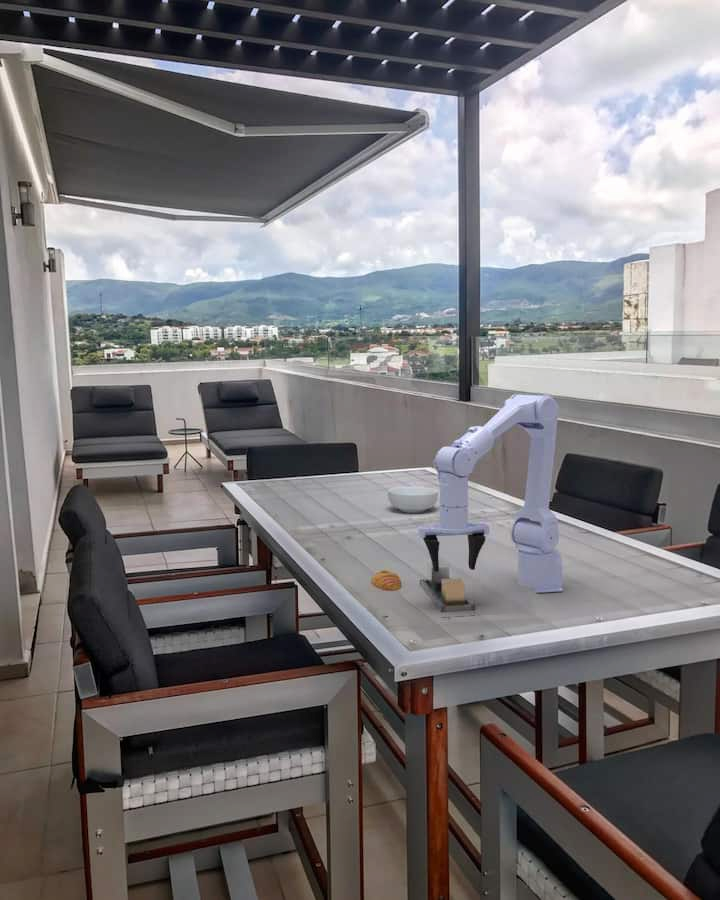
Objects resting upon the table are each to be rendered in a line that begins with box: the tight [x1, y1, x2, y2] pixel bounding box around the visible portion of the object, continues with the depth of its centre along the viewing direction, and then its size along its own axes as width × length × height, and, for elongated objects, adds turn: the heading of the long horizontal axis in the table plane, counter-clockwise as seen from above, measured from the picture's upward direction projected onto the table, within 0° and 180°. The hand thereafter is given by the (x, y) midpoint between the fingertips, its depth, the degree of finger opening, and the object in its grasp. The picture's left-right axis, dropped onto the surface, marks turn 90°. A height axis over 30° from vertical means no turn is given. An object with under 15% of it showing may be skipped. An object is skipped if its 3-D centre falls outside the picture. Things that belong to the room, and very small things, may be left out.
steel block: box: [426, 562, 450, 592], centre depth 182 cm, size 4×6×5 cm
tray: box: [419, 577, 476, 619], centre depth 176 cm, size 7×20×2 cm, turn 9°
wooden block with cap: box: [442, 577, 466, 606], centre depth 171 cm, size 4×6×5 cm
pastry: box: [370, 569, 402, 592], centre depth 185 cm, size 9×7×4 cm
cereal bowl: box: [387, 485, 439, 514], centre depth 274 cm, size 17×17×7 cm
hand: (453, 569), depth 169 cm, fingers open, 7 cm apart
